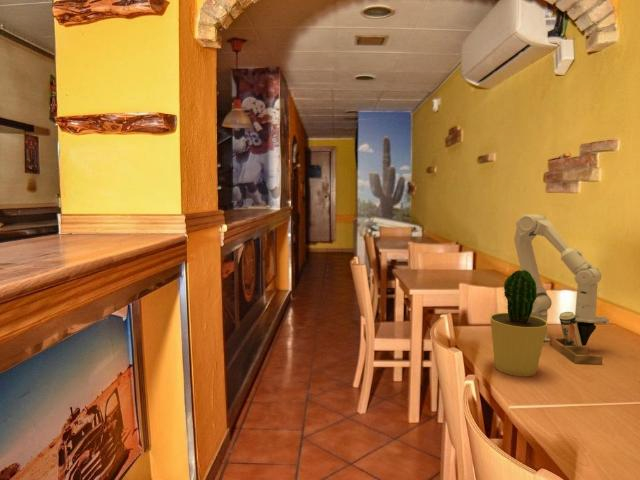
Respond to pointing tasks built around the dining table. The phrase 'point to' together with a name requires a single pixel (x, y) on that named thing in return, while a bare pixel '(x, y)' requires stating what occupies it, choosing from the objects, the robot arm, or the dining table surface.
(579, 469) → the dining table surface
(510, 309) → the potted cactus
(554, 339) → the brown compartment tray
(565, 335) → the beer can
